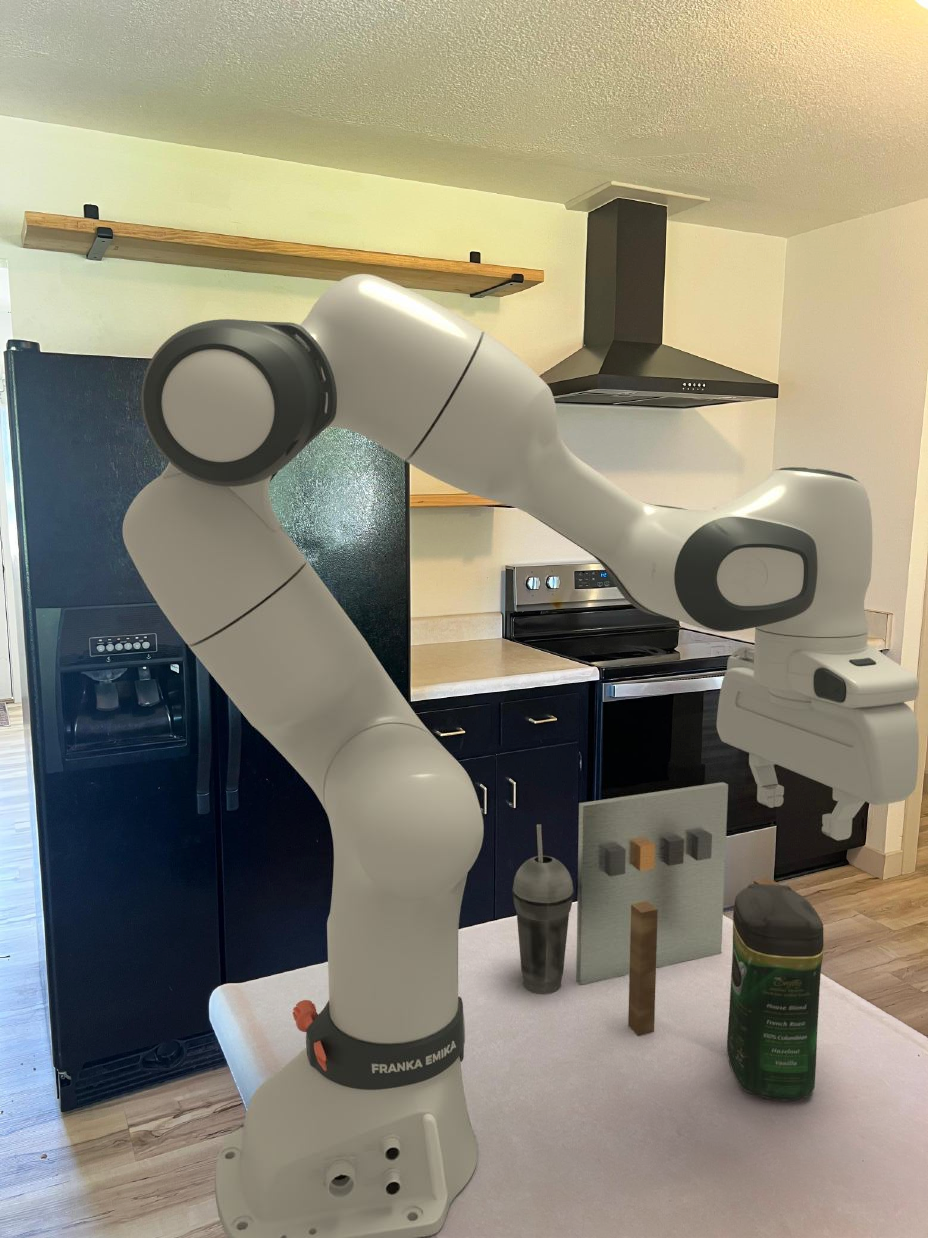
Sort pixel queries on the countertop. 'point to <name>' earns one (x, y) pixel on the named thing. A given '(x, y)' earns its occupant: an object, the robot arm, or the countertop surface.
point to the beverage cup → (542, 919)
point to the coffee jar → (774, 992)
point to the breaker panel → (650, 876)
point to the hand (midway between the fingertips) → (801, 820)
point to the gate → (646, 965)
